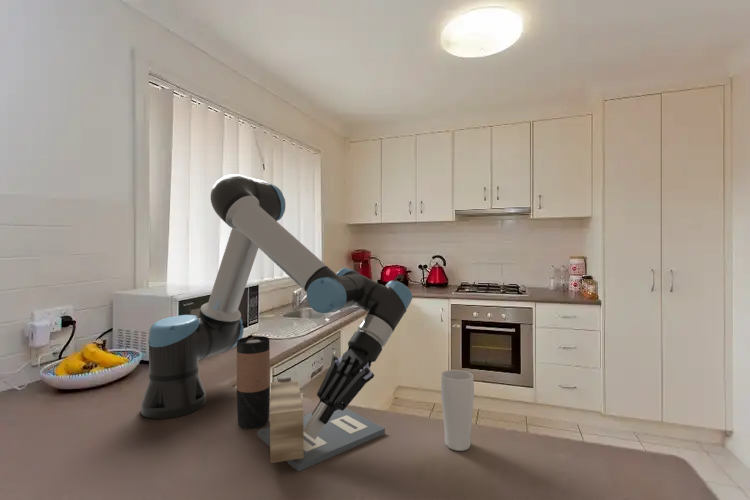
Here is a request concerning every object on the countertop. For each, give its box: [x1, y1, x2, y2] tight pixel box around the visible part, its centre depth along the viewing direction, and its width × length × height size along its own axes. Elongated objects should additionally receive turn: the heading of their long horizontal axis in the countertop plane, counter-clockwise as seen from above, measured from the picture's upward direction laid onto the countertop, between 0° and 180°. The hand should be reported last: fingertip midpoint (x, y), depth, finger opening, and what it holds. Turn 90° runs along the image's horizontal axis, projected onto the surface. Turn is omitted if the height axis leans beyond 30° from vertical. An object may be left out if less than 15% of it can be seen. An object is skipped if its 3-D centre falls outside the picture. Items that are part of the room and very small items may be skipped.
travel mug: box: [236, 335, 271, 430], centre depth 90 cm, size 8×8×20 cm
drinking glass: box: [440, 369, 475, 452], centre depth 79 cm, size 7×7×15 cm
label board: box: [257, 407, 386, 472], centre depth 84 cm, size 19×22×2 cm
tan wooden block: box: [269, 375, 304, 464], centre depth 79 cm, size 20×6×9 cm, turn 15°
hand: (308, 435), depth 76 cm, fingers closed
